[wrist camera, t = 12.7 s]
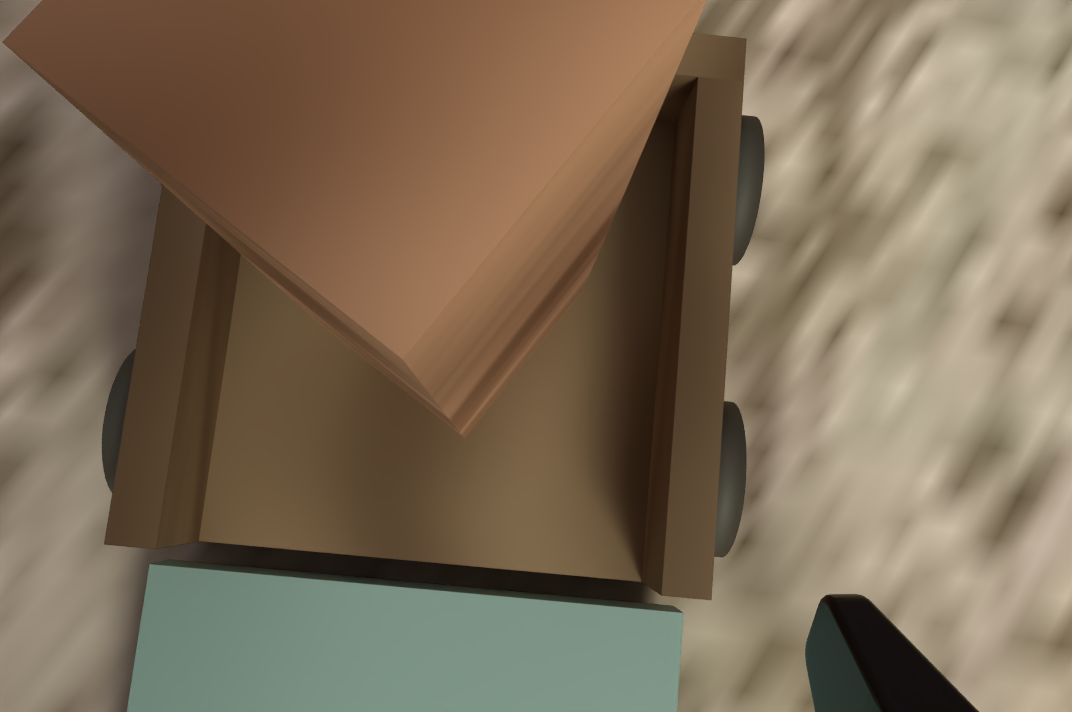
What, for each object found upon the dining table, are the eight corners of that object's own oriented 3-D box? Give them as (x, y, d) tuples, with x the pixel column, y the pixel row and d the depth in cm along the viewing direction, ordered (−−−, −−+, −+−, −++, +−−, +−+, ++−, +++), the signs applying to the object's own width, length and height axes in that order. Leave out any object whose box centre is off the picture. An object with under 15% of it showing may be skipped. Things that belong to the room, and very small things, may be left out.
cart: (729, 125, 24) (782, 42, 19) (700, 579, 22) (751, 603, 18) (223, 71, 23) (158, -26, 19) (152, 528, 22) (62, 540, 17)
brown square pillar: (583, 289, 21) (716, -22, 8) (463, 438, 20) (402, 359, 7) (435, 175, 21) (336, -304, 8) (313, 318, 21) (2, 42, 8)
